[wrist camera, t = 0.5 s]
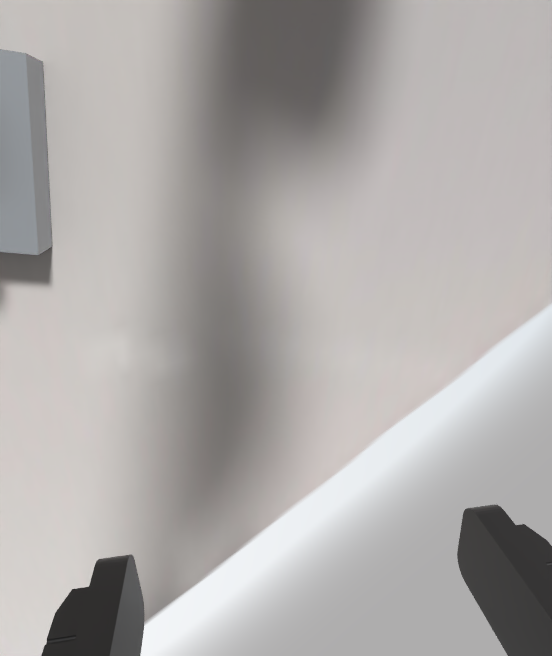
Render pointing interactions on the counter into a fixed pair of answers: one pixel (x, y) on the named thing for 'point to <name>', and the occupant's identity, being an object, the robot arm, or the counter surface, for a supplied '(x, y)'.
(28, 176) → the slate trivet
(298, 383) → the counter surface
